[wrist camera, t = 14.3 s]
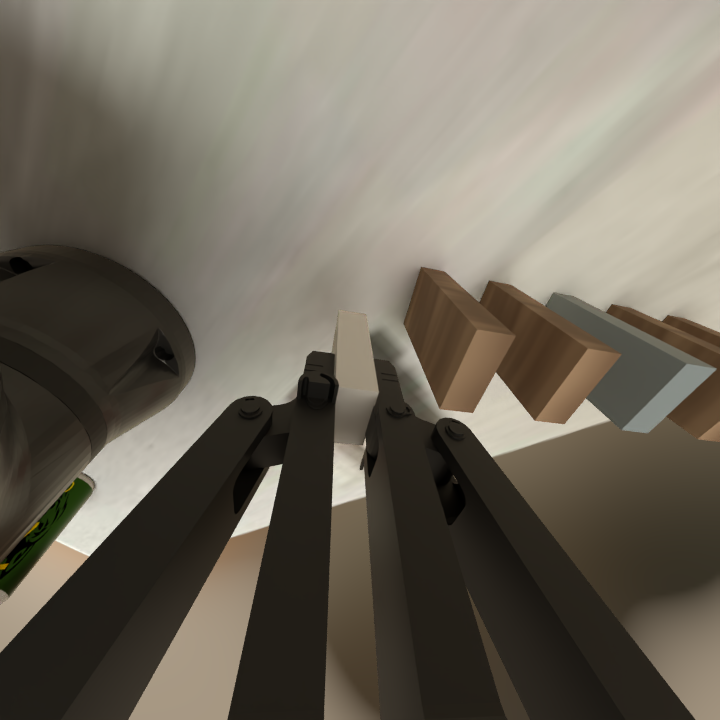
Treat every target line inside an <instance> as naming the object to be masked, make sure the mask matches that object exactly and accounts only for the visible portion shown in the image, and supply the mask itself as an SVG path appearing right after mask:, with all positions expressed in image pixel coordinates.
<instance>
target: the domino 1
mask: <svg viewBox="0 0 720 720" xmlns="http://www.w3.org/2000/svg"><path fill="white" fill-rule="evenodd" d="M404 325H405V328H406V330H407V332H408V335H409V337H410V340H411V342H412V344H413V347H414V349H415V352H416V354H417V356H418V359H419V361H420V363H421V366H422V368H423V371H424V373H425V375H426V378H427V380H428V382H429V385H430V387H431V390H432V392H433V394H434V397H435V399H436V401H437V404H438V406H439V409H444V410H452V411H461V412H469V413H473V412H474V410H475V408H476V406H477V404H478V403H479V401H480V399H481V397H482V396H483V394H484V392H485V390H486V388H487V387H488V385H489V383H490V381H491V380H492V378H493V376H494V374H495V372H496V371H497V369H498V367H499V365H500V363H501V362H502V360H503V358H504V356H505V355H506V353H507V351H508V349H509V347H510V346H511V344H512V342H513V340H514V339H515V337H516V335H514V334H513V333H512V332H511V331H510V330H509V329H508V328H507V327H506V326H504V325H503V324H502V323H501V322H500V321H499V320H498V319H497V318H496V317H494V316H493V315H492V314H491V313H490V312H489V311H488V310H487V309H486V308H484V307H483V306H482V305H481V304H480V303H479V302H478V301H477V300H476V299H474V298H473V297H472V296H471V295H470V294H469V293H468V292H467V291H466V290H464V289H463V288H462V287H461V286H460V285H459V284H458V283H457V282H456V281H454V280H453V279H452V278H451V277H450V276H449V275H448V274H447V273H446V272H444V271H439V270H433V269H428V268H423V267H421V269H420V272H419V276H418V279H417V282H416V285H415V289H414V292H413V295H412V298H411V302H410V305H409V308H408V311H407V315H406V318H405V321H404Z"/></svg>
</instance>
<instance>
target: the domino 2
mask: <svg viewBox="0 0 720 720" xmlns="http://www.w3.org/2000/svg"><path fill="white" fill-rule="evenodd" d="M480 304H481V305H482V306H483V307H484V308H486V309H487V310H488V311H489V312H490V313H491V314H492V315H493V316H494V317H496V318H497V319H498V320H499V321H500V322H501V323H502V324H503V325H504V326H506V327H507V328H508V329H509V330H510V331H511V332H512V333H513V334H514V335H516V337H515V339H514V340H513V342H512V344H511V346H510V347H509V349H508V351H507V353H506V355H505V356H504V358H503V360H502V362H501V363H500V365H499V367H498V369H497V371H496V373H497V374H498V375H499V376H500V378H501V379H502V380H503V381H504V383H505V384H506V385H507V386H508V388H509V389H510V390H511V391H512V393H513V394H514V395H515V397H516V398H517V399H518V400H519V402H520V403H521V404H522V405H523V407H524V408H525V409H526V410H527V412H528V413H529V414H530V415H531V417H532V418H533V419H534V420H535V421H542V422H551V423H559V424H565V423H566V421H567V420H568V419H569V418H570V417H571V415H572V414H573V413H574V412H575V411H576V409H577V408H578V407H579V406H580V404H581V403H582V402H583V401H584V400H585V398H586V397H587V396H588V395H589V394H590V392H591V391H592V390H593V389H594V388H595V386H596V385H597V384H598V383H599V381H600V380H601V379H602V378H603V377H604V375H605V374H606V373H607V372H608V371H609V369H610V368H611V367H612V366H613V365H614V363H615V362H616V361H617V360H618V358H619V357H620V356H621V355H622V354H621V353H619V352H618V351H616V350H614V349H613V348H611V347H610V346H608V345H606V344H605V343H603V342H602V341H600V340H598V339H597V338H595V337H594V336H592V335H590V334H589V333H587V332H586V331H584V330H582V329H581V328H579V327H578V326H576V325H574V324H573V323H571V322H570V321H568V320H566V319H565V318H563V317H562V316H560V315H558V314H557V313H555V312H554V311H552V310H550V309H549V308H547V307H546V306H544V305H542V304H541V303H539V302H538V301H536V300H534V299H533V298H531V297H529V296H528V295H526V294H525V293H523V292H521V291H520V290H518V289H517V288H515V287H513V286H512V285H508V284H503V283H498V282H493V281H489V283H488V285H487V287H486V289H485V292H484V294H483V296H482V298H481V300H480Z"/></svg>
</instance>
